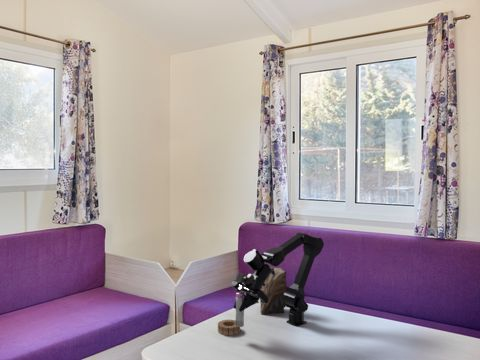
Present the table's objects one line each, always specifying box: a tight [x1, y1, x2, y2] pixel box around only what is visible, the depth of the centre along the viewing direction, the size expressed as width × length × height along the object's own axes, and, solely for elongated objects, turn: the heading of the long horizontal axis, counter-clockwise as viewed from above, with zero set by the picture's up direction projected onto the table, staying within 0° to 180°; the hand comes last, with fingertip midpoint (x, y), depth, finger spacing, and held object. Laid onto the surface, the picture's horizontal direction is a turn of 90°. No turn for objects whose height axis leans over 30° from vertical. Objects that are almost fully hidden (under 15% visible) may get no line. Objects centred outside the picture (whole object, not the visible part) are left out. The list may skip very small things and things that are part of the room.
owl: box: [259, 266, 288, 316], centre depth 200 cm, size 13×13×20 cm
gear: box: [217, 319, 241, 336], centre depth 175 cm, size 9×9×3 cm
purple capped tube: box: [235, 291, 245, 328], centre depth 166 cm, size 3×3×13 cm
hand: (237, 309), depth 165 cm, fingers closed on purple capped tube, 3 cm apart
